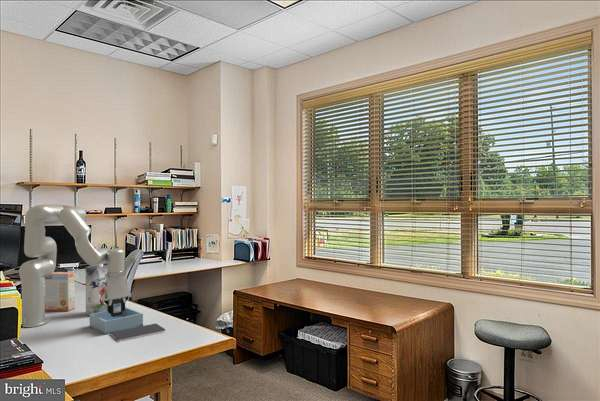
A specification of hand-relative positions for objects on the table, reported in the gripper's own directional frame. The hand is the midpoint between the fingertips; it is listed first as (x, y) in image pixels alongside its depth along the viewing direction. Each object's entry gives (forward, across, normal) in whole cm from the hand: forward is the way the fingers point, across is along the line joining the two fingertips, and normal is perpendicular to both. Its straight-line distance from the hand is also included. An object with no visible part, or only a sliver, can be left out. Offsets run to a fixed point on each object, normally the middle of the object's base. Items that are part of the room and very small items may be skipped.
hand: (116, 311), depth 203 cm
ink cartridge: (+2, 0, 0) cm, 2 cm away
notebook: (+8, +2, -18) cm, 20 cm away
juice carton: (+7, +3, +30) cm, 31 cm away
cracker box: (+7, -8, +53) cm, 54 cm away
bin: (+7, 0, 0) cm, 7 cm away
